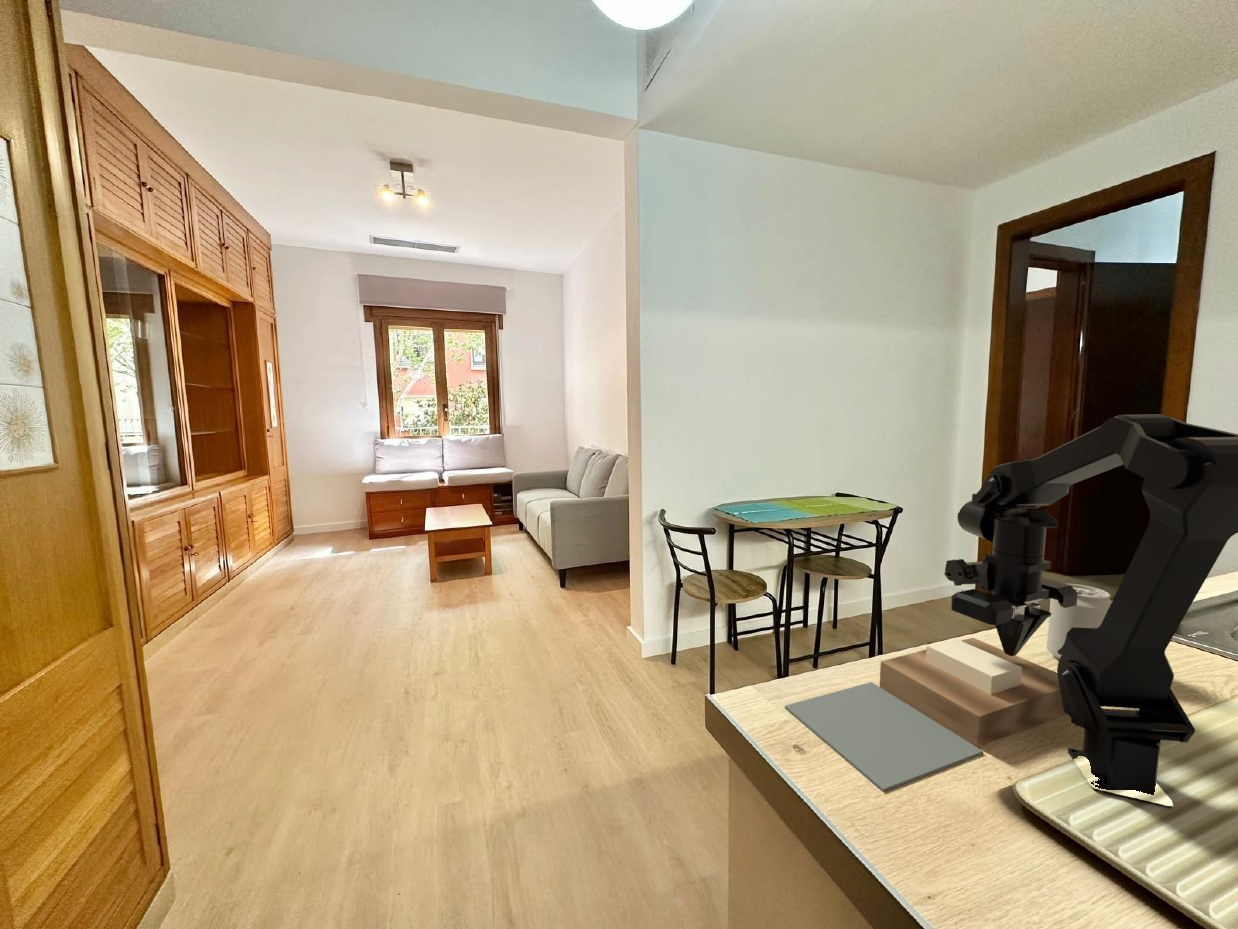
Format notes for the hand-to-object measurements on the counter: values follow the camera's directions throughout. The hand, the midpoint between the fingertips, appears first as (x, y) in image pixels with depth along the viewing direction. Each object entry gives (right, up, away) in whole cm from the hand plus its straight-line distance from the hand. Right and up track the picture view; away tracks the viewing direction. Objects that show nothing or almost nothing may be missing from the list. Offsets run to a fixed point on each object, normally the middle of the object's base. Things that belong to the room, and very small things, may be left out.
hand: (1010, 654), depth 71 cm
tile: (-8, 0, -3) cm, 8 cm away
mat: (-24, -6, -8) cm, 26 cm away
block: (-7, -5, -2) cm, 9 cm away
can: (+17, -4, +8) cm, 19 cm away
